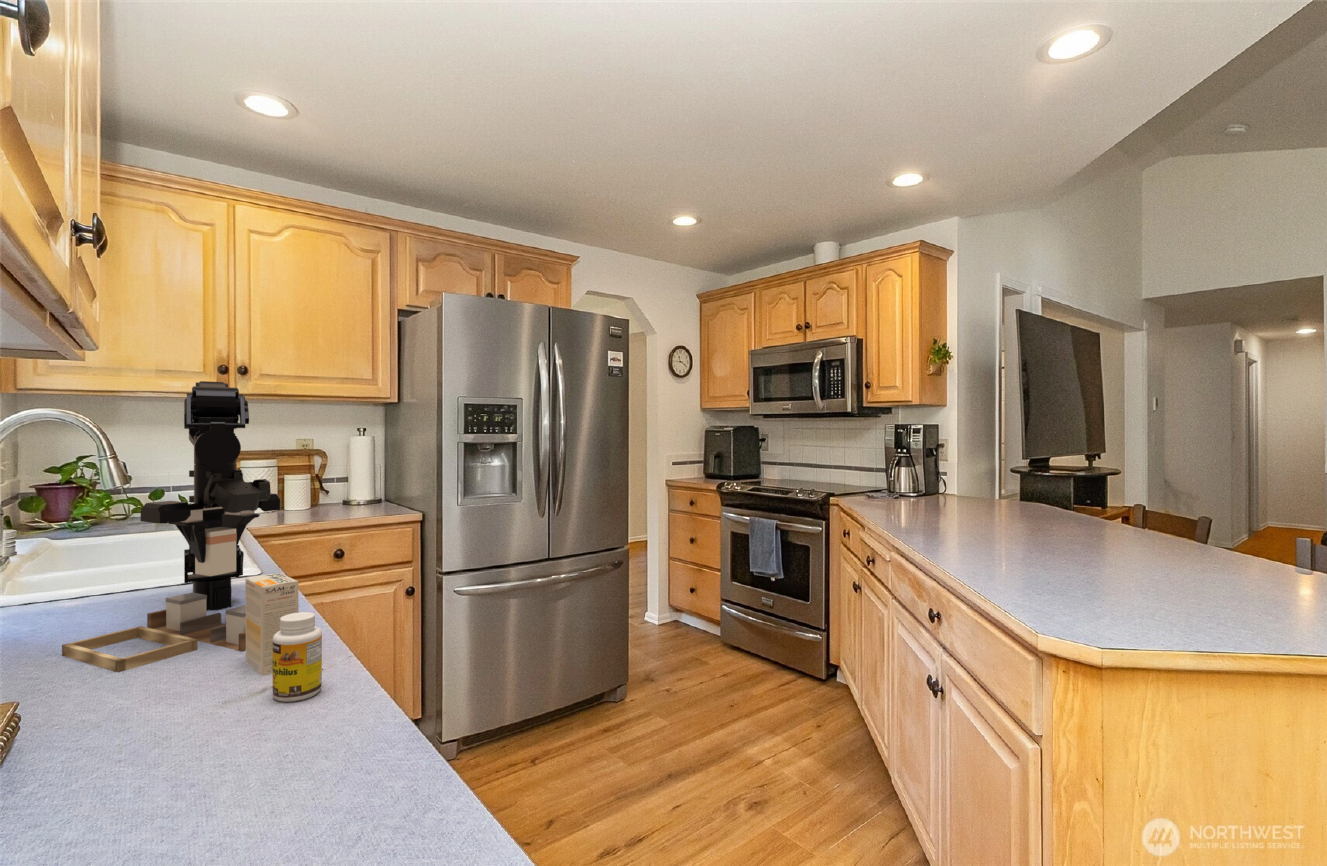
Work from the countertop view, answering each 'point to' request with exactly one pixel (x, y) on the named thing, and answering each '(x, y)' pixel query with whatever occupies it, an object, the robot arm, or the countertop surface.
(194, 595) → the grey beige rectangular block
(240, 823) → the countertop surface
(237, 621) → the block
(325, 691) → the countertop surface
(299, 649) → the supplement bottle
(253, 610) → the supplement box
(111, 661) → the tray
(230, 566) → the beige striped box
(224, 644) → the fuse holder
